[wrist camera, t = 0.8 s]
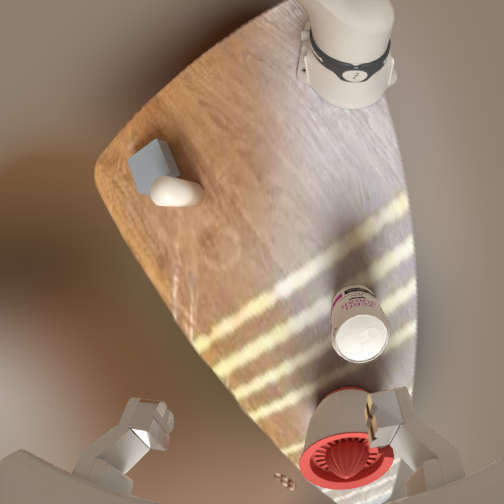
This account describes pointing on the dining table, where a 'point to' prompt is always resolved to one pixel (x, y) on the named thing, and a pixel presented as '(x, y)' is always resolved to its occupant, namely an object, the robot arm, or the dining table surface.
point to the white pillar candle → (176, 192)
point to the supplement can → (358, 324)
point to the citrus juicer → (342, 443)
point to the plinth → (152, 165)
